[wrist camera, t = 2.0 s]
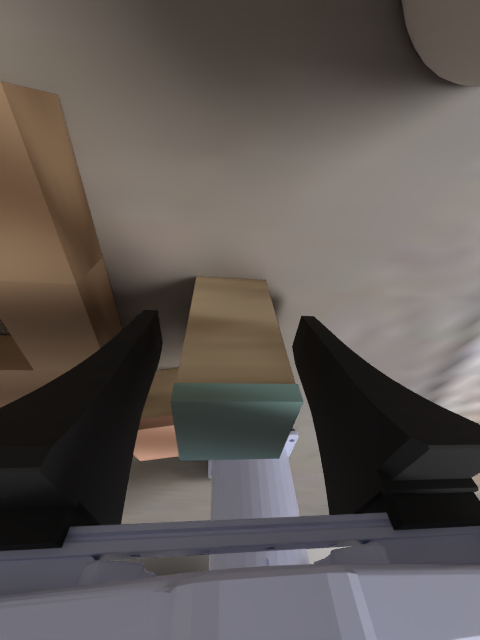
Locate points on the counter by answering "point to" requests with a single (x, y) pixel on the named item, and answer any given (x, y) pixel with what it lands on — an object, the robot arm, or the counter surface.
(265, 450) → the square peg
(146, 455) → the tan cubic piece
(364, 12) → the counter surface
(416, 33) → the coffee cup
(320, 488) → the counter surface
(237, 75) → the counter surface
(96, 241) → the hole board
